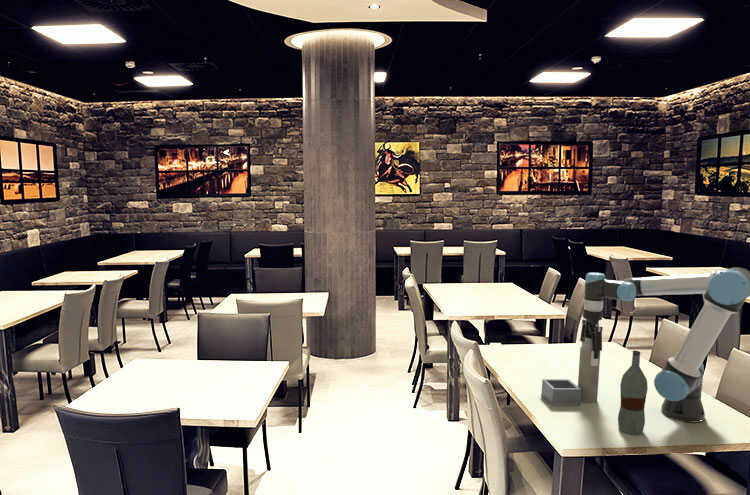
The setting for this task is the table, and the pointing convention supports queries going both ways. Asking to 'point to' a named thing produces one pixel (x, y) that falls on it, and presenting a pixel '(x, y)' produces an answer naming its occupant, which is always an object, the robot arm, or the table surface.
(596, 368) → the thermos bottle
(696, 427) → the table surface
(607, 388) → the table surface
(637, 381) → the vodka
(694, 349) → the robot arm
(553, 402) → the bin
